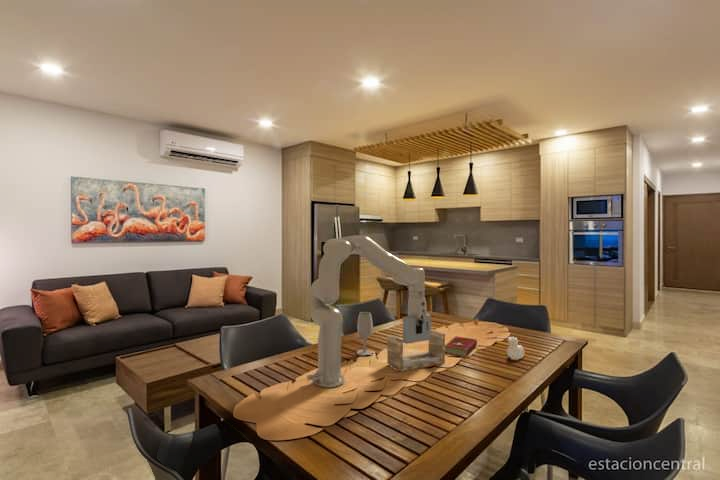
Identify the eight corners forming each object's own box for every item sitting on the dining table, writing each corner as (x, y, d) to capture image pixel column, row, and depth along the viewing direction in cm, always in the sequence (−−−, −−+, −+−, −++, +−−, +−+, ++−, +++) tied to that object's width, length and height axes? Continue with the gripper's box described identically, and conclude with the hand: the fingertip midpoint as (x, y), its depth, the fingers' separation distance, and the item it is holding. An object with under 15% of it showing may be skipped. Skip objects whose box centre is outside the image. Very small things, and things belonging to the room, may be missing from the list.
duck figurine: (521, 359, 191) (509, 339, 196) (532, 353, 186) (520, 332, 191) (507, 364, 184) (495, 342, 190) (518, 358, 179) (505, 336, 185)
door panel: (406, 344, 174) (406, 318, 173) (402, 342, 177) (402, 316, 177) (431, 339, 180) (431, 315, 180) (426, 337, 183) (426, 313, 183)
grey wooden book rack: (399, 371, 168) (399, 341, 168) (387, 364, 177) (387, 335, 177) (444, 362, 180) (444, 333, 180) (431, 356, 189) (431, 328, 189)
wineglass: (373, 356, 189) (373, 315, 188) (356, 356, 189) (356, 315, 188) (373, 351, 197) (373, 311, 197) (356, 350, 198) (356, 311, 197)
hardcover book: (477, 346, 207) (477, 338, 207) (467, 357, 189) (467, 349, 189) (455, 343, 213) (455, 335, 213) (443, 353, 195) (443, 345, 195)
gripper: (433, 295, 172) (434, 335, 173) (413, 290, 187) (413, 327, 187) (420, 297, 169) (420, 337, 169) (400, 292, 183) (400, 329, 184)
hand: (416, 332), depth 178 cm, fingers closed on door panel, 3 cm apart
